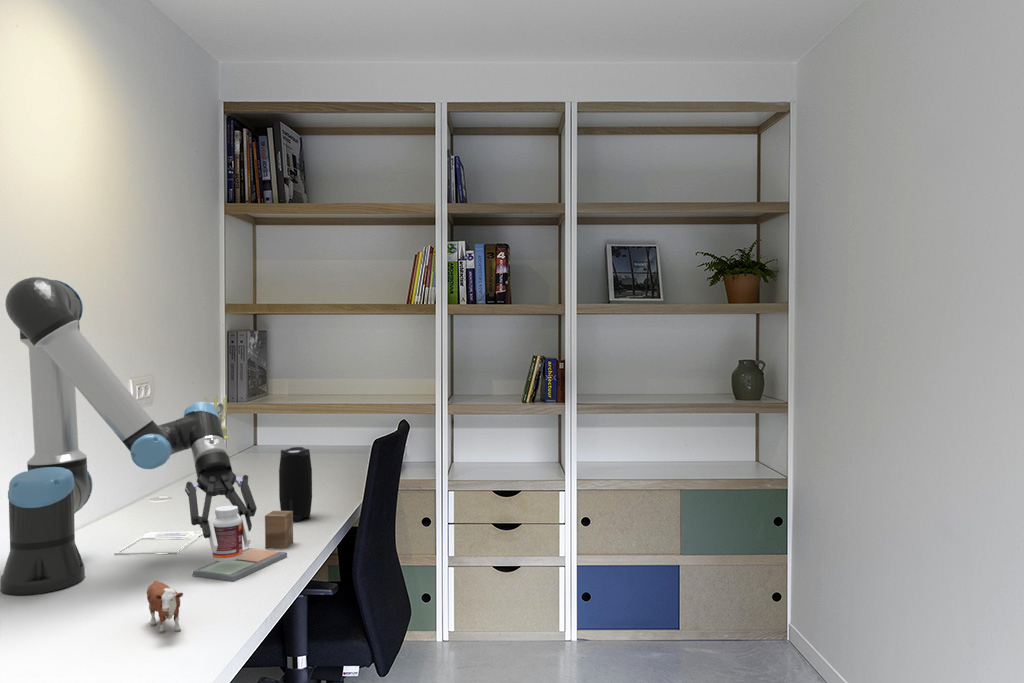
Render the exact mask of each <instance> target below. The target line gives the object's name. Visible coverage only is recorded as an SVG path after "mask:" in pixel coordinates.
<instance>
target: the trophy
mask: <svg viewBox="0 0 1024 683" xmlns="http://www.w3.org/2000/svg"><path fill="white" fill-rule="evenodd" d="M218 400H219V398H218V394H217V395H215V396H213V402H210V403H211V404H213V405H214V406H215V408H216V410H217V413H218V416H219V419H220V422H221V427H222V431H223V436H224V440H225V441H226V440H228V439H229V438H230V437H229V436H228V435H227V429H228V427H227V426H223V425H222V424H223V423H224V421H225V419H226V417H227V412H228V410H227V406H228V404H227V403H228V401H227V400H228V399H227V394H225V396H224V397H223V398H222V402H218ZM203 402H208V403H209V398H206V396H204V401H203Z"/></svg>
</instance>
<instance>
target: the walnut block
mask: <svg viewBox="0 0 1024 683" xmlns="http://www.w3.org/2000/svg"><path fill="white" fill-rule="evenodd" d="M264 538H265V541H264V542H265V544H264V546H265V549H269V548H273V550H274V549H276V550H278V549H280V550H282V549H283V550H285V549H288V547H290V546H291V545H292V544H294V522H293V511H281V510H272V511H270V512H269V513H267V514H266V515H264Z"/></svg>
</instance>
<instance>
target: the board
mask: <svg viewBox="0 0 1024 683" xmlns="http://www.w3.org/2000/svg"><path fill="white" fill-rule="evenodd" d="M286 558H288V552H287V551H280V550H279V551H277V550H272V549H269V550H268V549H262V548H251V547H246V548H245V549H242V556H241V557H240V558H239V559H236V560H232V561H225V562H221V561H216V560H215V561H214V562H212V563H209V564H206V565H204V566H201V567H200V568H197V569H193V570H192V572H191V574H192V575H195V576H194V577H198V576H201V577H200V578H205V577H208V578H207V579H212V578H214V579H213V580H219V579H220V580H221V581H227V582H235V580H236V581H237V580H240V579H242V578H244V577H246V576H248V575H250V574H253V573H255V572H257V571H260V570H261V569H264V568H266V567H268V566H270V565H273V564H275V563H277V562H279V561H281V560H283V559H286ZM220 580H219V581H220Z"/></svg>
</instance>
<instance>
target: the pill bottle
mask: <svg viewBox="0 0 1024 683" xmlns="http://www.w3.org/2000/svg"><path fill="white" fill-rule="evenodd" d="M214 515H215V517H214V519H212V521H213V525H214V530H215V535H216V539H217V544H218V547H217V550H216V552H215V553H212V560H214V561H215V562H216V561H221V562H225V561H232V560H236V559H239V558H240V557H241V556H242V550H243V536H242V519H241V518H240V515H239V514H238V507H237V506H233V505H221V506H219V507H215V510H214Z"/></svg>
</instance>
